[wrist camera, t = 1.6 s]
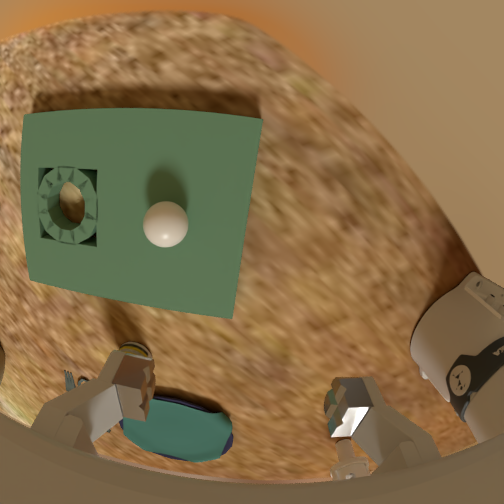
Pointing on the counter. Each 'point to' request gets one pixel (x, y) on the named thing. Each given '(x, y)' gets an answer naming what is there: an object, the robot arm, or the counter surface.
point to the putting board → (139, 203)
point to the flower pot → (2, 363)
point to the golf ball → (165, 224)
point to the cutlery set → (177, 429)
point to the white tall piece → (348, 463)
